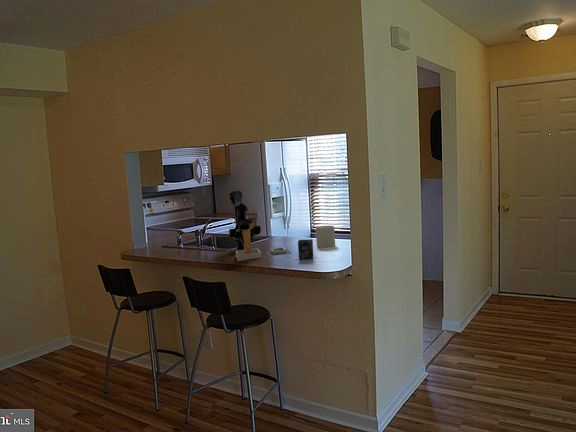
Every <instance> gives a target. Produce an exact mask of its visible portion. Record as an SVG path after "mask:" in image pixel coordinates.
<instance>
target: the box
mask: <svg viewBox="0 0 576 432" xmlns="http://www.w3.org/2000/svg"><path fill="white" fill-rule="evenodd" d="M313 243H314V241H313V239H312V238H311V239H298V240H297V249H298V260H313V258H314V244H313Z"/></svg>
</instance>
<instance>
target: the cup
mask: <svg viewBox="0 0 576 432" xmlns="http://www.w3.org/2000/svg"><path fill="white" fill-rule="evenodd" d="M335 232H336V231H335V226H333V225H320V226H316V227H315V239H316V240H315V241H316V247H317V248H333V247H335V246H336V237H335V236H336V235H335Z"/></svg>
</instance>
